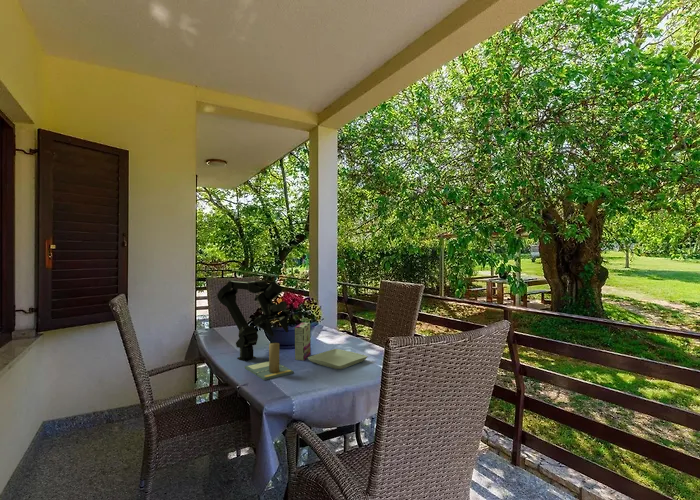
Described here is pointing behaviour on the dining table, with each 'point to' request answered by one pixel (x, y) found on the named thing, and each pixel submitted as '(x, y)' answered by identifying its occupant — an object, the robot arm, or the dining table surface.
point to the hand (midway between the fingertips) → (280, 334)
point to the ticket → (259, 367)
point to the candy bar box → (302, 341)
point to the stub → (274, 364)
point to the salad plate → (337, 358)
